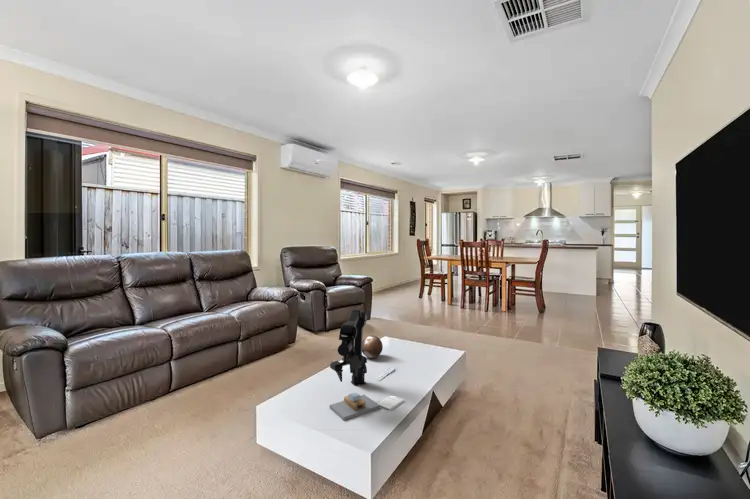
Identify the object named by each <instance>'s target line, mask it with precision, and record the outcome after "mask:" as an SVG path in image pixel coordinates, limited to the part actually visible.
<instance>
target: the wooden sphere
mask: <svg viewBox="0 0 750 499" xmlns="http://www.w3.org/2000/svg"><path fill="white" fill-rule="evenodd" d="M382 352H383V342H382V340H381V339H380V338H379V337H378V336H377V335H376V336H375V335H367V336H366V337H364V338H363V340H362V355H363V356H364V357H366V358H367V359H368V358H369V359H375V358H377V357H379V356H380V355H381V354H382Z"/></svg>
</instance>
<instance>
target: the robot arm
mask: <svg viewBox="0 0 750 499" xmlns="http://www.w3.org/2000/svg"><path fill="white" fill-rule="evenodd" d="M367 321H368V316H367V313H366V312H364V311H362V310H361V309H352V310H351V314H350V315H349V318H348V320H347V321H345V322H343V323H342V325H341V326H340V331H339V336H338V340H339V341H341V343H340V344H339V346H338V347H337V353H338V355H339V356H341V357H342V358H341V361H342V362H341V361H339V360H335V361H331V362H330V364H329V368H330V369H331V370H332V371H334V372H335V373H336V375H337V377H338V379H339V380H340V382H341V383H342V382H343V372H344V369H343V367H344V366H348V365H349V373H350V374H352V375H351V381H350V383H351V384H353V385H354V386H356V387H358V386H362V385H365V384H367V382H366V380H365V374H367V372H368V370H367V369H368V368H367V365H366V364H367V363H368V357H366V356H365V355H363V353H362V341H363V340H364V338H363V337H364V336H363V334H364V333H363V332H364V327H366V325H367Z"/></svg>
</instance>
